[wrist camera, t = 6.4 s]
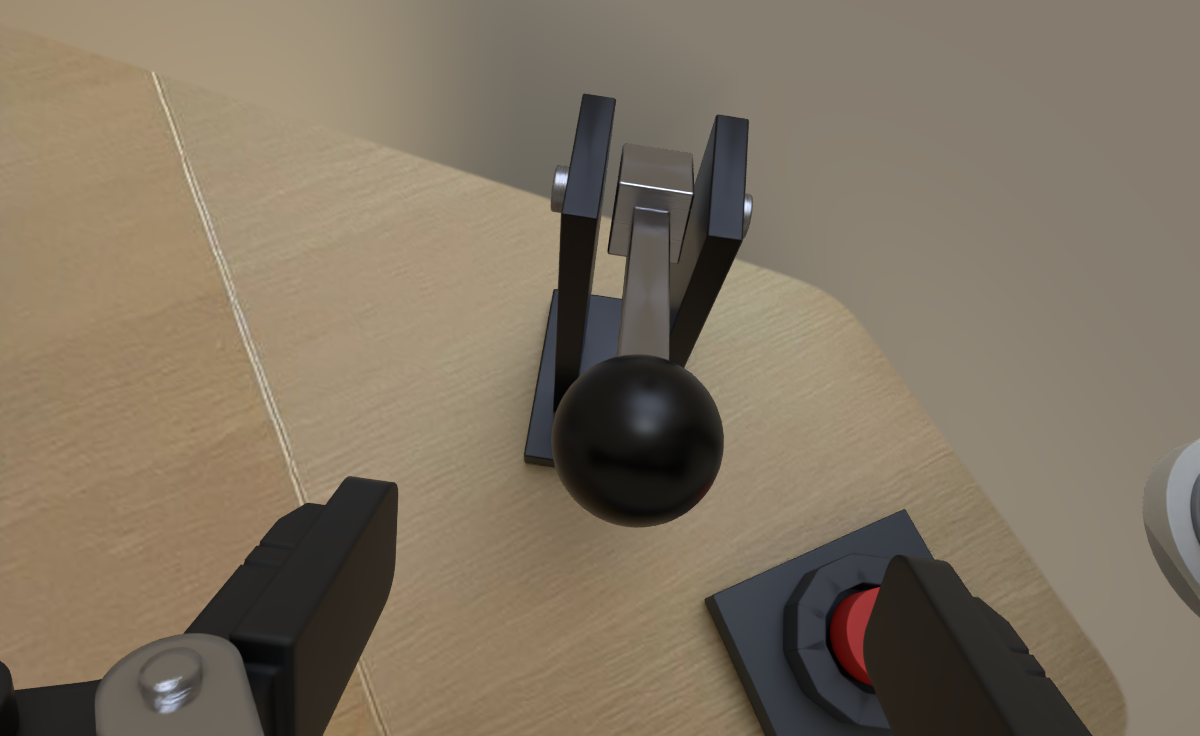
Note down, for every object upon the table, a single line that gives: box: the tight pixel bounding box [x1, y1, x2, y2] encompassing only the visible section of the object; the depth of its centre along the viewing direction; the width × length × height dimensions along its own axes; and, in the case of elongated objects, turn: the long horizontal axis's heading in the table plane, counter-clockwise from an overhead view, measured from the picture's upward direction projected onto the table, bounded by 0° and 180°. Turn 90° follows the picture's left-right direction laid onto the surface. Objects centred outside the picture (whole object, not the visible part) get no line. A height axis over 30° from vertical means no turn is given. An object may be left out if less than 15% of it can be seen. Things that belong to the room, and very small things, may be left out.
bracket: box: [524, 94, 753, 467], centre depth 27 cm, size 9×7×17 cm
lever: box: [551, 143, 724, 527], centre depth 18 cm, size 13×3×3 cm, turn 172°
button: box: [830, 587, 880, 686], centre depth 27 cm, size 4×4×2 cm
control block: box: [705, 509, 934, 736], centre depth 29 cm, size 10×8×4 cm
